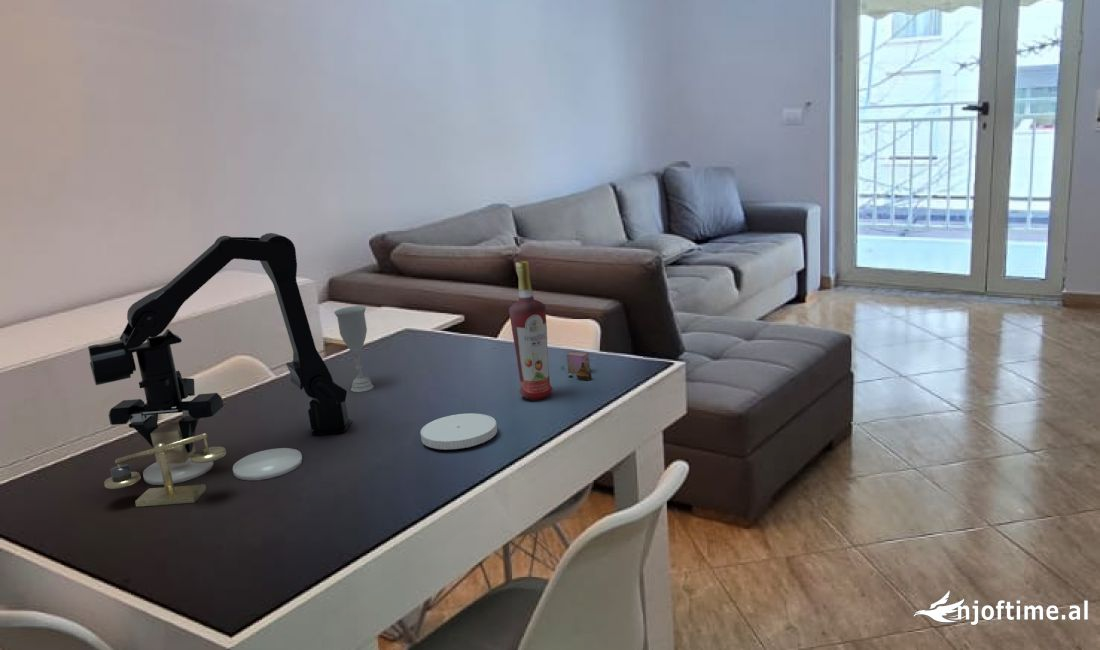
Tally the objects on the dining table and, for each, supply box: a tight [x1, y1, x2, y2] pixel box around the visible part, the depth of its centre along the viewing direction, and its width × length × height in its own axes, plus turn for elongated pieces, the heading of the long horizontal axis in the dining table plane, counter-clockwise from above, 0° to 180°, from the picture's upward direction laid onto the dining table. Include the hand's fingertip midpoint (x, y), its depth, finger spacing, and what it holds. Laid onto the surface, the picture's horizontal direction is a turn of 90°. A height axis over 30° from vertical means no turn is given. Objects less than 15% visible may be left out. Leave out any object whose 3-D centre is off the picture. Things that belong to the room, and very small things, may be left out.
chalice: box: [333, 305, 374, 393], centre depth 205 cm, size 7×7×18 cm
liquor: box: [508, 260, 554, 401], centre depth 186 cm, size 7×7×28 cm
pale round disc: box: [142, 458, 215, 486], centre depth 169 cm, size 12×12×1 cm
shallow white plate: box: [232, 447, 303, 482], centre depth 167 cm, size 12×12×1 cm
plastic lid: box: [420, 413, 498, 450], centre depth 171 cm, size 14×14×2 cm
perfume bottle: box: [566, 350, 592, 381], centre depth 201 cm, size 12×12×4 cm
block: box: [151, 421, 197, 465], centre depth 168 cm, size 5×5×6 cm
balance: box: [103, 433, 227, 507], centre depth 156 cm, size 21×6×11 cm, turn 87°
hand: (175, 453), depth 168 cm, fingers closed on block, 5 cm apart
